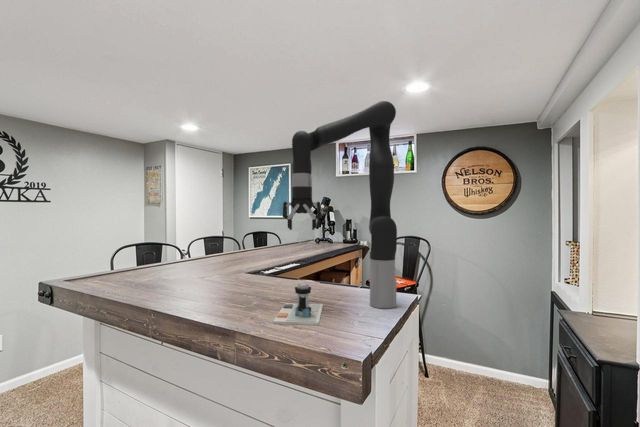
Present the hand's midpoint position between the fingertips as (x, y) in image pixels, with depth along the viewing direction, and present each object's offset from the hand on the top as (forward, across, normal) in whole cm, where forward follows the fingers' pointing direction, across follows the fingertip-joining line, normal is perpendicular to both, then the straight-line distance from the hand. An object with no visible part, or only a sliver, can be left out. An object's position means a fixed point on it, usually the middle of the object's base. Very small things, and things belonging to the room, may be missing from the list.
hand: (301, 229), depth 115 cm
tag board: (+28, -1, +11) cm, 30 cm away
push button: (+27, -3, +16) cm, 32 cm away
